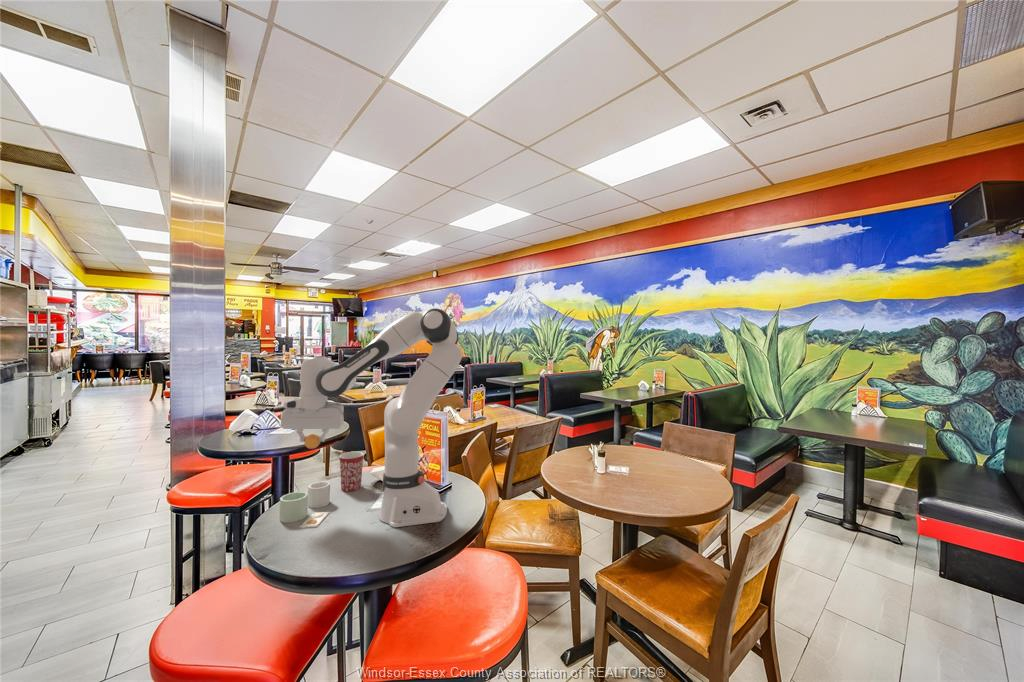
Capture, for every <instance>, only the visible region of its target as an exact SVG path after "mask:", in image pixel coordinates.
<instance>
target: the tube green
mask: <svg viewBox="0 0 1024 682" xmlns="http://www.w3.org/2000/svg"><path fill="white" fill-rule="evenodd" d="M308 508H309V507H308V492H306V491H294V492H289V493H287V494H283V495H282V496H281V497H280V498H279V522H281V523H288V524H289V523H294V522H299V521H301V520H303V519H305V518H306V517H307V516H308Z"/></svg>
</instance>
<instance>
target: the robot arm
mask: <svg viewBox="0 0 1024 682" xmlns="http://www.w3.org/2000/svg"><path fill="white" fill-rule="evenodd" d="M420 341H426V343H427V344H429V345H430V346H432V348H431V351H430V353H429V354H428V355H427V357H425V359H424V361H422V363H421V364H420V365H419V367H418V368H417V370H416V371H414V373H413V375H412V376H411V377H410V379H409V381H408V383H407V384H406V386H405V387H404V389H403V391H402V392H401V394H400V396H397V397H395V398H394V397H393V399H391V400H389V402H387V404H386V406H385V408H384V411H383V415H384V418H383V420H384V422H383V423H384V473H383V476H382V491H383V494H382V495H383V496H382V502H381V507H380V511H379V514H378V519H379V520H380V521H381V522H383V523H386V524H388V525H390V526H391V527H392V528H399V527H407V526H416V525H423V524H431V523H439V522H442V521H443V520H444V519H445V518H446V516H447V513H448V506H447V504H446V502H444V501H441V496H440V493H439V491H438V490H437V489H436V488H435V487H433V486H432V485H430V484H429V483H427V482H426V481H425V471H424V470H422V471H421V470H419V455H420V454H419V441H418V440H419V439H418V430H419V429H420V428H421V426H422V423H423V421H424V419H425V418H426V417H427V415H428V413H429V411H430V409H431V407H432V405H434V402H435V401H436V398H437V397H438V396H439V394H440V393H441V391H442V390H443V389H444V388H445V386H446V385H447V383H448V382H449V380H450V379H451V378H452V376H453V375H454V373H455V372H456V370H457V368H459V365H460V363H461V361H462V358H463V352H462V349H461V347H460V346H459V345H458V343H459V333H458V331H457V328H456V326H455V323H454V321H453V320H452V318H451V317H450V316H449V314H448V313H447V312H446V311H444V310H443V309H440V308H434V307H433V308H430V309H428V310H426V311H425V312H424V313H423V314H422V313H420V312H418V311H411V312H409V313H407V314H405V315H402V316H401V317H400V318H398V319H396V320H395V321H393V322H392V323H390V324H389V325H387V326H386V327H385V328H384V329H382V331H380V332H379V333H378V334H377V335H376V336H375V337H374V338H373V339H372V340H371V341H370V342H369V343H367V345H366V346H365V347H364V348H362V349H360V350H359V351H358V352H356V353H355V354H353V355H352V356H350V357H349V358H347V359H346V360H345V361H343V362H341V363H338V362H335V361H333V360H331V359H329V358H328V357H327V356H324V355H321V356H320V355H319V356H310V357H308V358H305V359H304V360H303V361H302V362H301V366H300V375H299V384H300V391H299V394H298V396H299V397H296V398H293V399H291V400H287V401H285V402H284V403H283V407H284V409H283V410H282V413H281V415H280V416H281V417H280V427H281V428H282V430H296V434H297V435H298V437H299V442H301V443H302V442H304V441H305V438H306V437H307V436H308V435H304V432H303V431H304V430H320V429H321V432H322V434H321V435H318V436H319V442H320V443H321V442H325V441H326V436H327V434H328V432H329V430H331V429H332V430H333V429H335V430H336V429H337V430H338V429H339V430H340V429H341V428H342V427H343V426H344V425H345V421H344V420H345V419H344V418H345V417H344V411H345V405H343V404H342V403H340V402H339V401H335V402H334V401H328V398H336V397H338V396H340V395H342V394H343V393H346V392H347V391H349V390H351V389H352V388H353V387H354V386H355V385H356V382H357V376H359V375H360V374H361V373H364V371H366V370H367V369H369V368H370V367H372V366H373V365H374V364H376V363H378V362H381V361H383V360H387V359H391V358H394V357H397V356H398V355H400V354H402V353H404V352H406V351H407V350H408V349H410V348H412V346H413V345H415V344H417V343H418V342H420Z"/></svg>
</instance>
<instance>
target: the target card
mask: <svg viewBox="0 0 1024 682" xmlns="http://www.w3.org/2000/svg"><path fill="white" fill-rule="evenodd" d="M329 514H330V512H329V511H320V512H319V511H318V512H315V511H314V512H312V514H311V515H310V516H309V517H307V518H306V519H305V521H304V522H303V523H302V524H301V525H299V529H303V528H304V529H307V528H309V529H310V528H317V527H318V526H319V525H320V524H321V523H322V522H323V520H324V519H325V518H326V517H327V516H328V515H329Z"/></svg>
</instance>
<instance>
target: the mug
mask: <svg viewBox="0 0 1024 682" xmlns="http://www.w3.org/2000/svg"><path fill="white" fill-rule="evenodd" d="M364 455H365V454H364V452H362V451H348V452H344V453H341V454H340V455H339V457H338V459H339V468H340V469H339V471H340V473H339V474H340V490H341V491H342V492H345V493H350V492H351V493H352V492H355V491H358V490H360V489H361V487H362V476H363V463H364Z"/></svg>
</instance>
